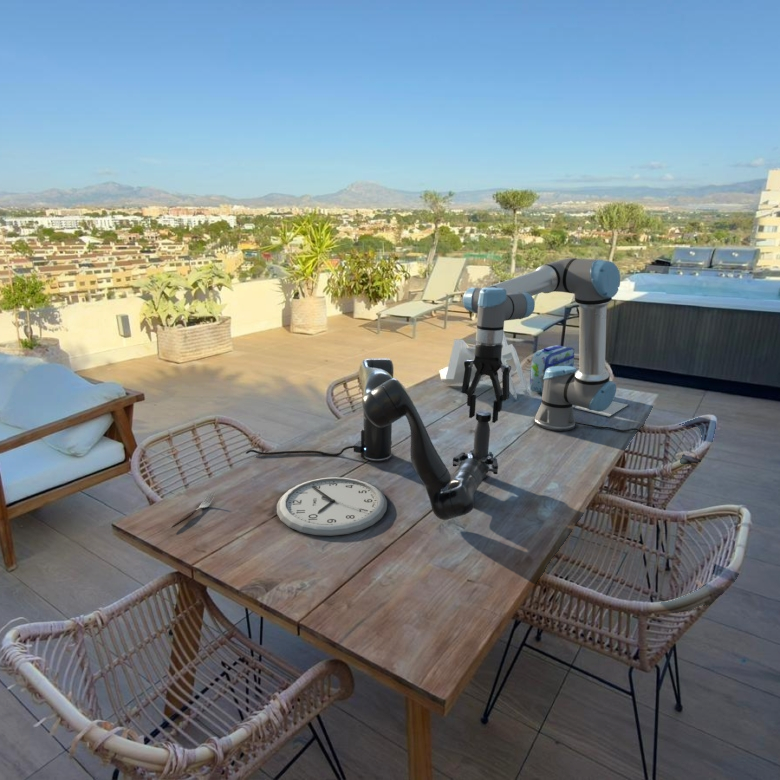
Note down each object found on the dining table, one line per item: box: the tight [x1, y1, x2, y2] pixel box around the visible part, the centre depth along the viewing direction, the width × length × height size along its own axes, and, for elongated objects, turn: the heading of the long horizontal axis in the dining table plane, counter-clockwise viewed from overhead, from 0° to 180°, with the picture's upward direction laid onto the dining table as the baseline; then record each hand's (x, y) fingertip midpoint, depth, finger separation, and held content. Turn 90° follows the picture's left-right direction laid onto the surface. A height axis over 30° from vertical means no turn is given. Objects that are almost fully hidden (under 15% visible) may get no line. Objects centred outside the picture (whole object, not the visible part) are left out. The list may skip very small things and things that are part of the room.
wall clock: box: [276, 476, 388, 537], centre depth 142 cm, size 30×2×30 cm
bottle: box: [473, 421, 491, 480], centre depth 158 cm, size 4×4×20 cm
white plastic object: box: [438, 330, 531, 400], centre depth 245 cm, size 37×45×31 cm
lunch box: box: [529, 345, 575, 394], centre depth 245 cm, size 26×11×21 cm, turn 134°
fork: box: [171, 493, 217, 529], centre depth 137 cm, size 3×16×2 cm, turn 160°
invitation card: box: [573, 400, 629, 418], centre depth 226 cm, size 21×1×15 cm
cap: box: [475, 410, 492, 423], centre depth 156 cm, size 4×4×2 cm
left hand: (482, 453), depth 162 cm, fingers closed on bottle, 4 cm apart
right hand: (483, 418), depth 156 cm, fingers open, 7 cm apart
